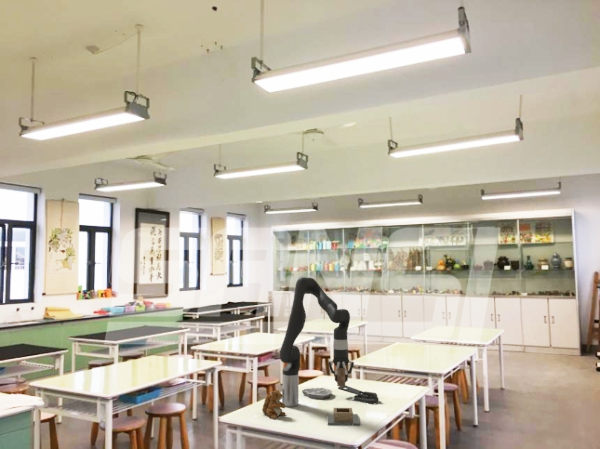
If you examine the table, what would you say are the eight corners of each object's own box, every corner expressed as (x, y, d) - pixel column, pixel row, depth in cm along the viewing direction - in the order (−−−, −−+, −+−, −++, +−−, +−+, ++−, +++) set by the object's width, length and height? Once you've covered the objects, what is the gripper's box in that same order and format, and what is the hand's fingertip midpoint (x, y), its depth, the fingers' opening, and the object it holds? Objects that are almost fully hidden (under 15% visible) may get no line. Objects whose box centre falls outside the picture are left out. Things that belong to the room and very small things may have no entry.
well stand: (327, 425, 237) (327, 414, 237) (327, 415, 253) (327, 406, 253) (360, 425, 236) (359, 415, 237) (357, 416, 252) (357, 406, 253)
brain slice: (339, 396, 296) (339, 391, 296) (321, 401, 283) (321, 396, 283) (315, 391, 308) (315, 386, 309) (297, 396, 296) (297, 391, 296)
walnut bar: (337, 386, 244) (337, 368, 245) (337, 384, 248) (337, 366, 249) (345, 386, 244) (345, 368, 245) (345, 384, 248) (344, 366, 249)
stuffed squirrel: (275, 420, 246) (275, 393, 247) (256, 414, 255) (256, 389, 257) (288, 415, 253) (288, 390, 255) (270, 410, 263) (270, 386, 264)
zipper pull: (343, 384, 297) (380, 389, 283) (343, 395, 296) (380, 401, 282) (336, 387, 290) (373, 392, 275) (336, 398, 289) (373, 404, 275)
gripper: (327, 349, 245) (327, 383, 243) (354, 349, 244) (355, 383, 242) (327, 347, 252) (327, 380, 250) (354, 347, 251) (354, 380, 249)
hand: (341, 381), depth 246 cm, fingers closed on walnut bar, 4 cm apart
